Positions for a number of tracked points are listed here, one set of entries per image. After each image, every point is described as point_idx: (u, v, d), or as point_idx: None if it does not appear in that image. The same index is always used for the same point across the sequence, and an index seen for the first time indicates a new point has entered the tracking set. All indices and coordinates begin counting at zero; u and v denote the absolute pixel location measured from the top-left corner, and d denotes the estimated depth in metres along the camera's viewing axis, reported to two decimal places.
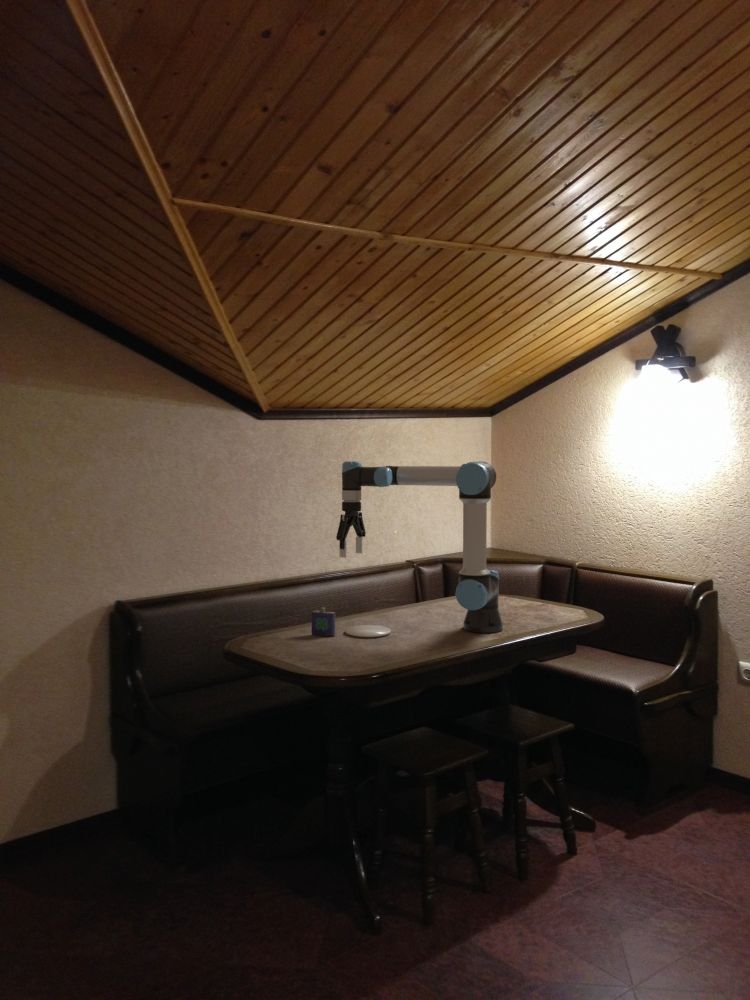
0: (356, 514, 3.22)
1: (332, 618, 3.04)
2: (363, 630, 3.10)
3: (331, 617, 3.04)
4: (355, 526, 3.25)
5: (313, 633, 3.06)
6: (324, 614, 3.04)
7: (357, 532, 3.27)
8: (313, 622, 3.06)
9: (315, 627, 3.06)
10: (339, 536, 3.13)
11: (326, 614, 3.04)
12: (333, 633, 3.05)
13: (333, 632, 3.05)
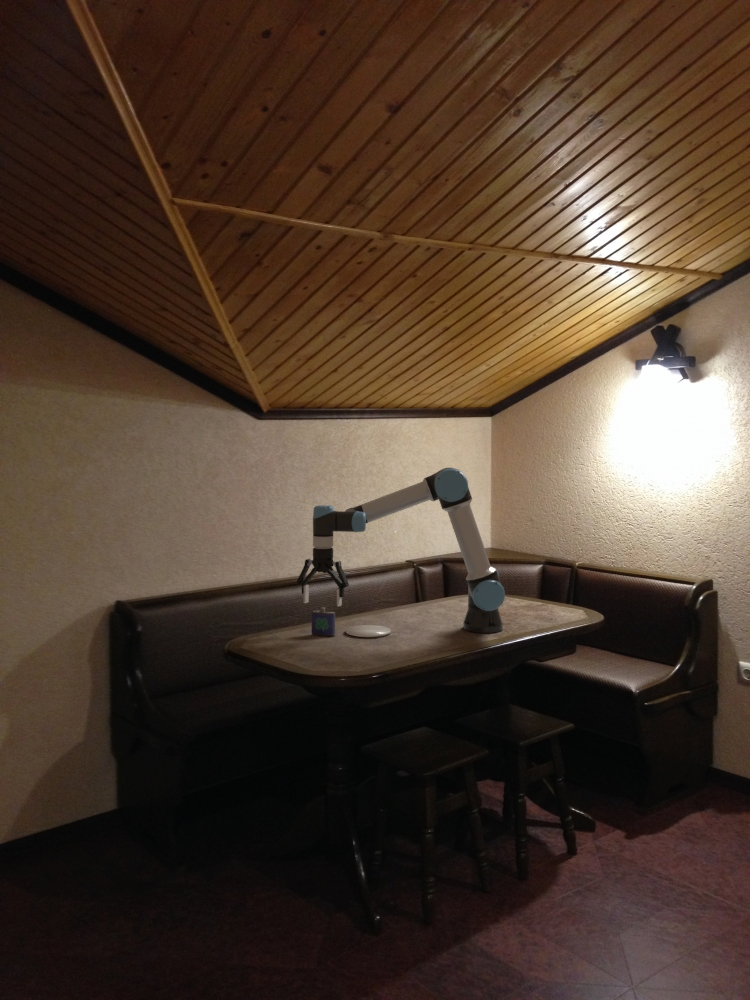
0: (326, 562, 3.03)
1: (332, 618, 3.04)
2: (363, 630, 3.10)
3: (331, 617, 3.04)
4: None
5: (313, 633, 3.06)
6: (324, 614, 3.04)
7: None
8: (313, 622, 3.06)
9: (315, 627, 3.06)
10: None
11: (326, 614, 3.04)
12: (333, 633, 3.05)
13: (333, 632, 3.05)
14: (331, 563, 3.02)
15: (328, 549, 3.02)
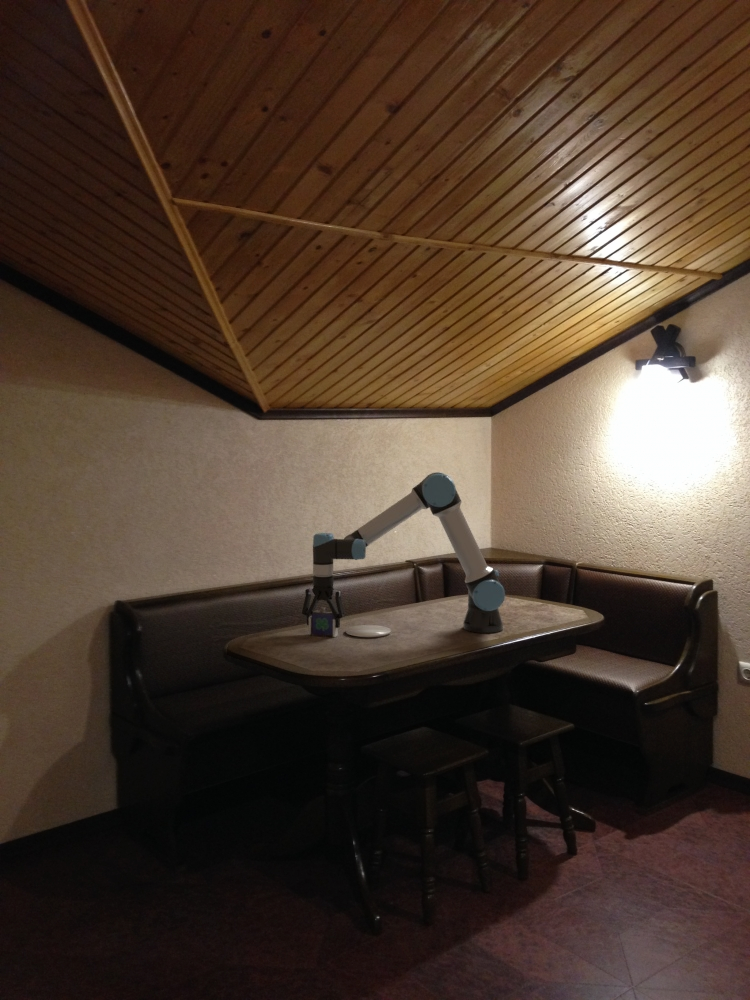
0: (327, 589, 3.03)
1: (332, 618, 3.04)
2: (363, 630, 3.10)
3: (331, 617, 3.04)
4: None
5: (313, 633, 3.06)
6: (324, 614, 3.04)
7: None
8: (313, 622, 3.06)
9: (315, 627, 3.06)
10: None
11: (326, 614, 3.04)
12: None
13: None
14: (331, 591, 3.03)
15: (328, 577, 3.02)
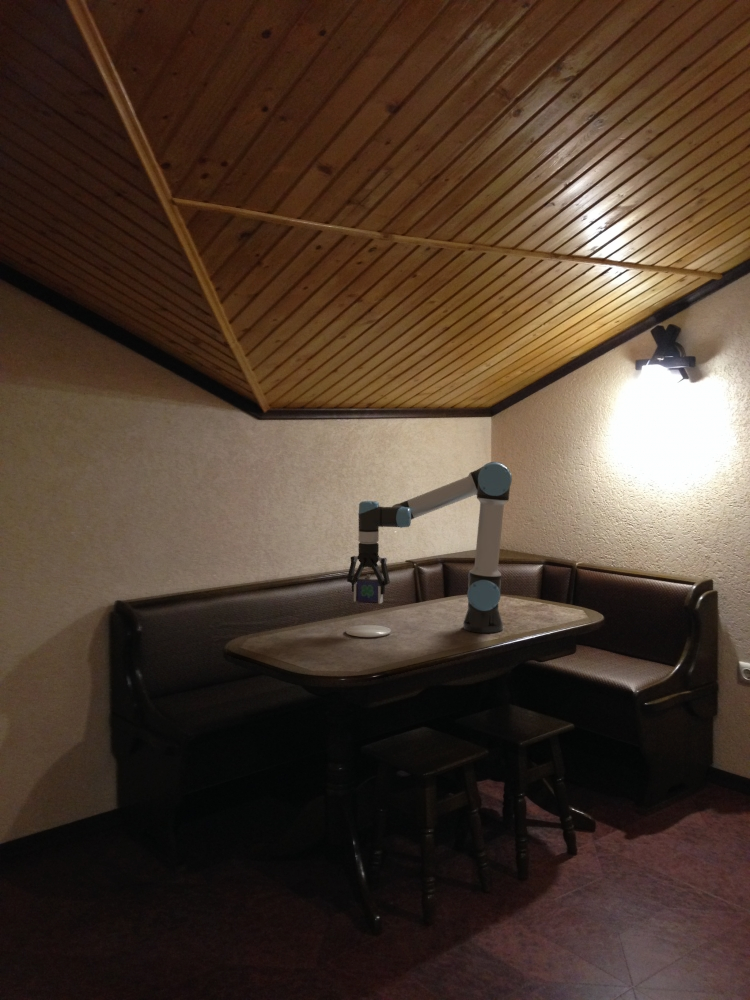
0: (372, 556, 3.07)
1: (377, 585, 3.07)
2: (363, 630, 3.10)
3: (377, 584, 3.07)
4: None
5: (358, 600, 3.10)
6: (369, 581, 3.08)
7: None
8: (358, 589, 3.09)
9: (361, 594, 3.09)
10: None
11: (371, 581, 3.08)
12: None
13: None
14: (377, 558, 3.06)
15: (374, 544, 3.05)
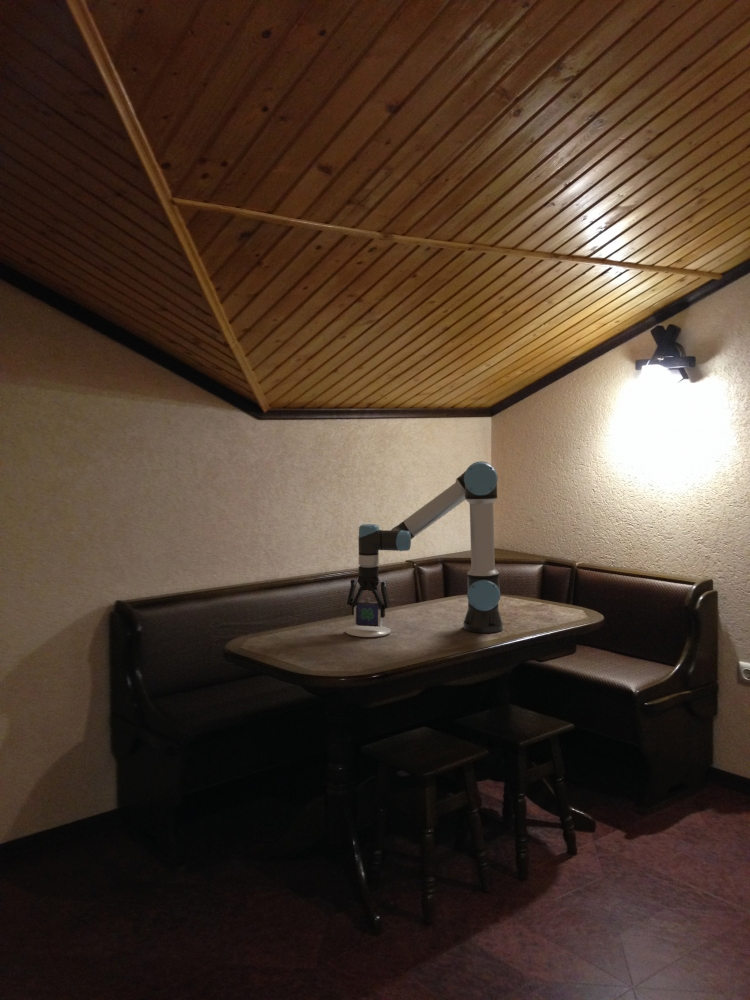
0: (372, 580, 3.07)
1: (377, 608, 3.08)
2: (363, 630, 3.10)
3: (377, 607, 3.08)
4: None
5: (358, 623, 3.10)
6: (369, 604, 3.08)
7: None
8: (358, 612, 3.10)
9: (361, 617, 3.10)
10: None
11: (371, 604, 3.08)
12: None
13: None
14: (377, 581, 3.07)
15: (374, 567, 3.06)
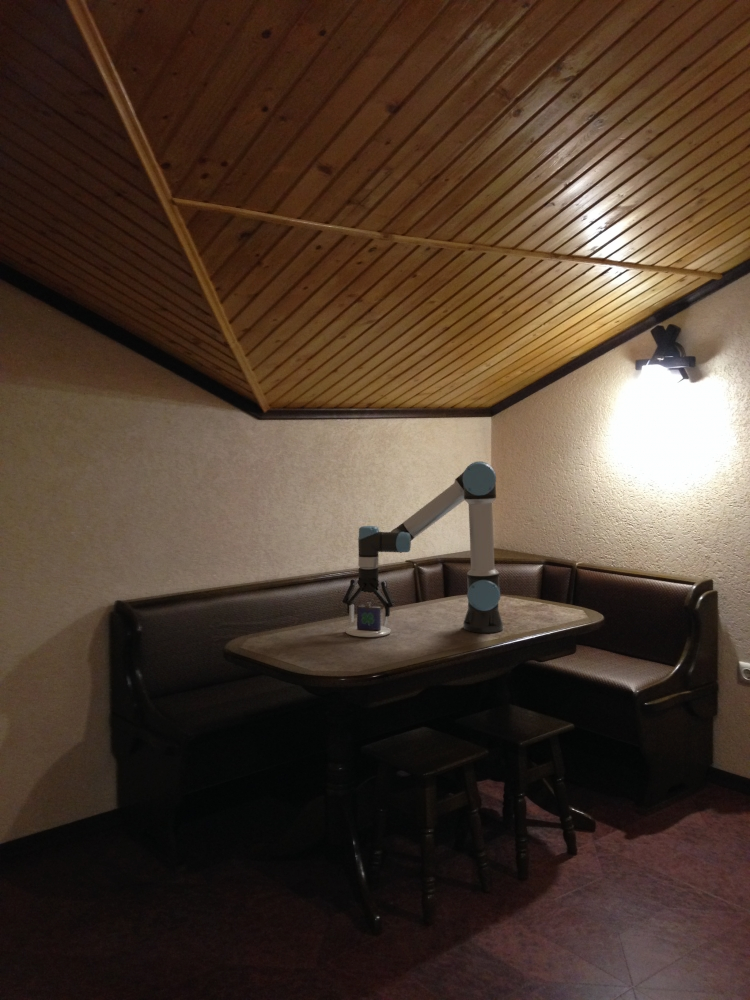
0: (372, 582, 3.07)
1: (378, 613, 3.08)
2: (363, 630, 3.10)
3: (377, 612, 3.08)
4: None
5: (358, 628, 3.10)
6: (370, 609, 3.08)
7: None
8: (359, 617, 3.10)
9: (361, 622, 3.10)
10: None
11: (372, 609, 3.08)
12: (379, 627, 3.09)
13: (379, 626, 3.09)
14: (377, 583, 3.07)
15: (374, 569, 3.06)
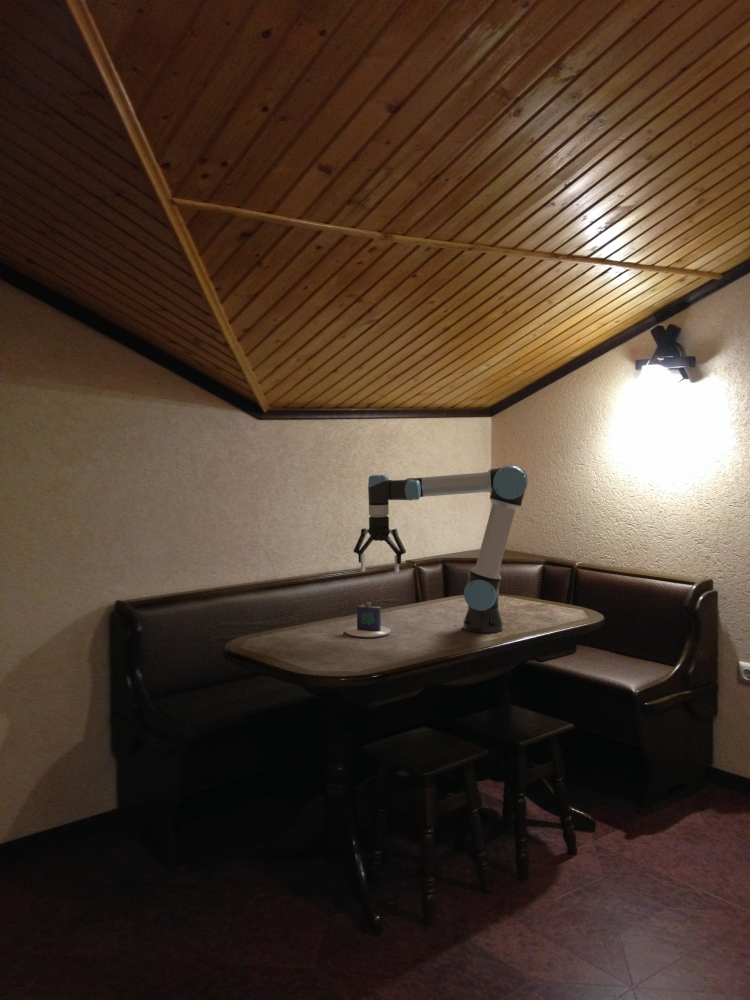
0: (383, 530, 3.09)
1: (378, 613, 3.08)
2: (363, 630, 3.10)
3: (377, 612, 3.08)
4: None
5: (358, 628, 3.10)
6: (370, 609, 3.08)
7: None
8: (359, 617, 3.10)
9: (361, 622, 3.10)
10: None
11: (372, 609, 3.08)
12: (379, 627, 3.09)
13: (379, 626, 3.09)
14: (388, 531, 3.08)
15: (384, 517, 3.07)
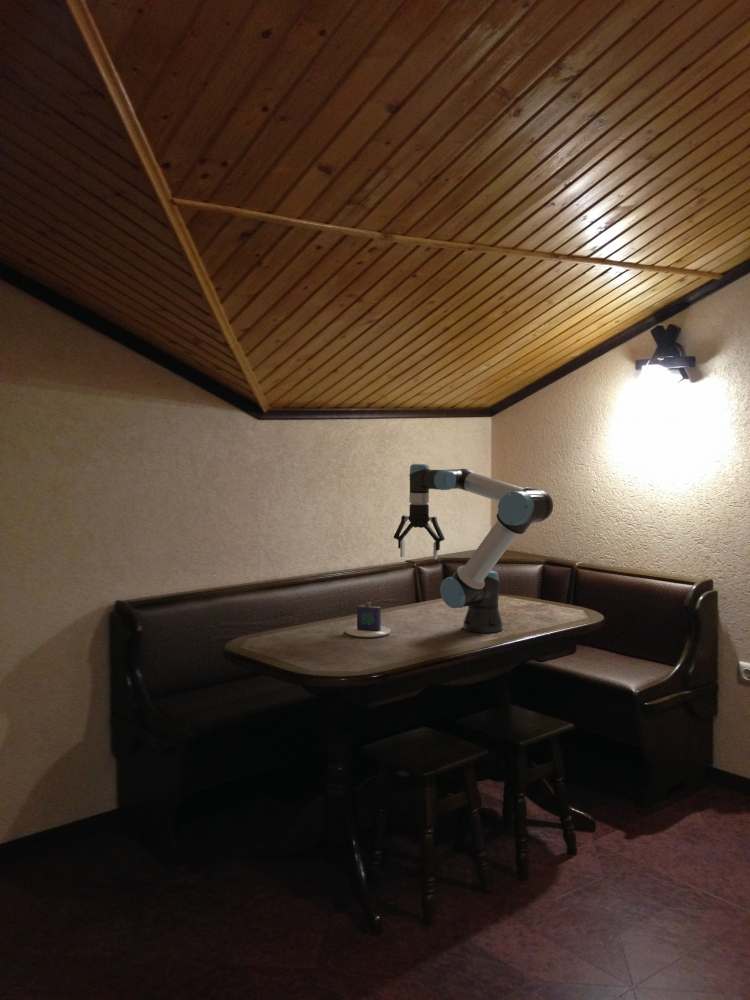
0: (423, 517, 3.19)
1: (378, 613, 3.08)
2: (363, 630, 3.10)
3: (377, 612, 3.08)
4: None
5: (358, 628, 3.10)
6: (370, 609, 3.08)
7: None
8: (359, 617, 3.10)
9: (361, 622, 3.10)
10: None
11: (372, 609, 3.08)
12: (379, 627, 3.09)
13: (379, 626, 3.09)
14: (427, 518, 3.19)
15: (425, 505, 3.18)
